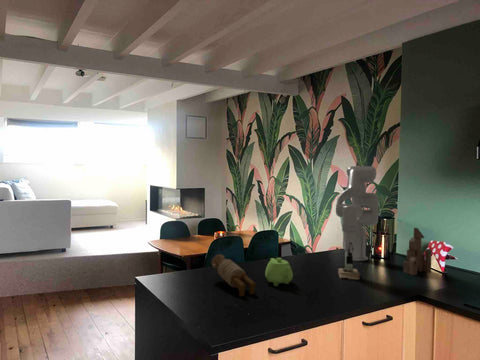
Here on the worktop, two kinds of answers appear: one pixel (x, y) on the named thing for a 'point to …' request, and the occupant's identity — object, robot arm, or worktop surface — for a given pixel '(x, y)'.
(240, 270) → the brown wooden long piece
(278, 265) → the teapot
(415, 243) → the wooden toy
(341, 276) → the tan rectangular frame
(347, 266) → the dowel
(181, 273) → the worktop surface
